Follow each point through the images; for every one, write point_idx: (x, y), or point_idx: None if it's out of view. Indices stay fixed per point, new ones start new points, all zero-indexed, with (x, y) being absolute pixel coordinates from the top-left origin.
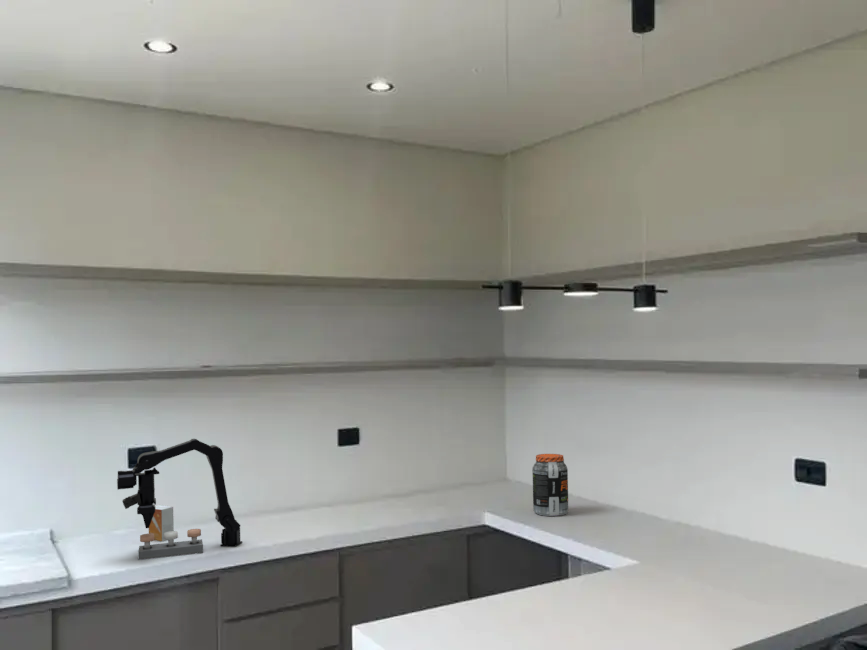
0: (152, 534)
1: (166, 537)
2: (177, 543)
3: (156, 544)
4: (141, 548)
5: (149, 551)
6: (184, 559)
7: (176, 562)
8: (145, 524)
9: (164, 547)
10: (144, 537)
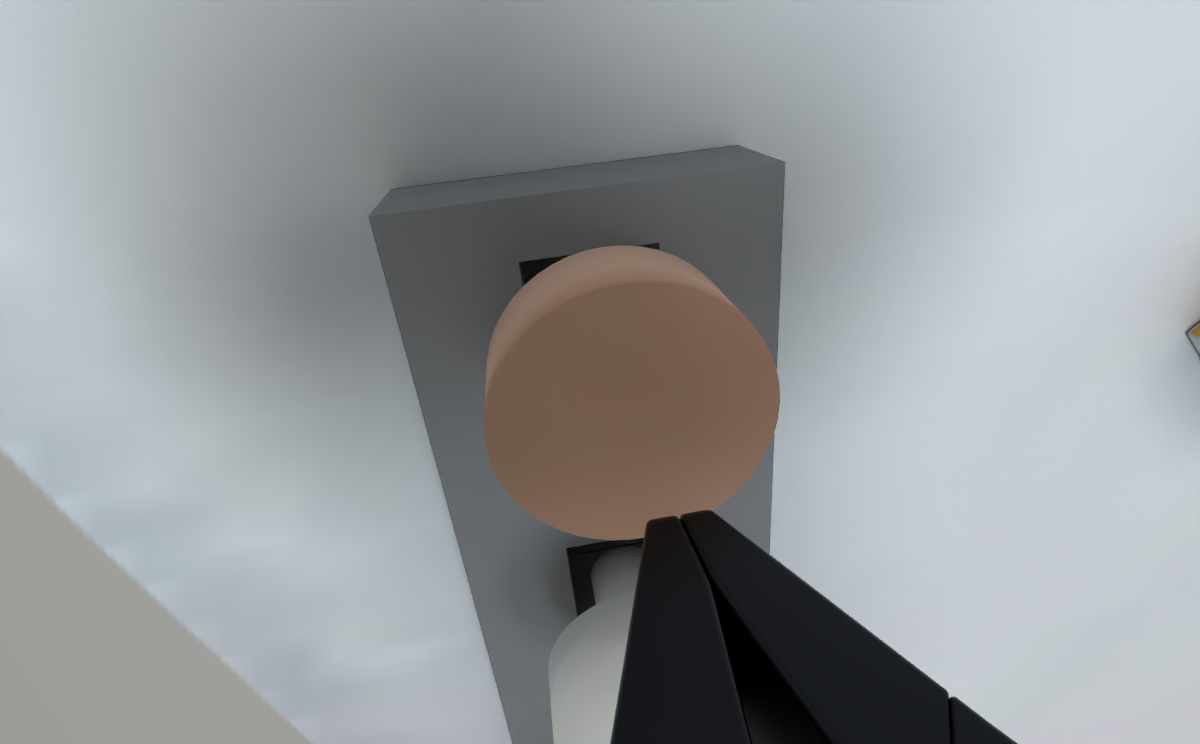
0: (652, 511)
1: (564, 660)
2: None
3: None
4: (585, 231)
5: (413, 373)
6: (324, 662)
7: (211, 624)
8: (635, 616)
9: (539, 532)
10: (485, 394)
